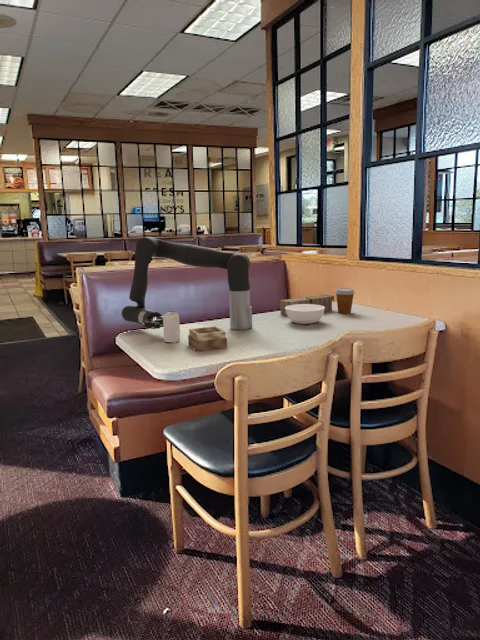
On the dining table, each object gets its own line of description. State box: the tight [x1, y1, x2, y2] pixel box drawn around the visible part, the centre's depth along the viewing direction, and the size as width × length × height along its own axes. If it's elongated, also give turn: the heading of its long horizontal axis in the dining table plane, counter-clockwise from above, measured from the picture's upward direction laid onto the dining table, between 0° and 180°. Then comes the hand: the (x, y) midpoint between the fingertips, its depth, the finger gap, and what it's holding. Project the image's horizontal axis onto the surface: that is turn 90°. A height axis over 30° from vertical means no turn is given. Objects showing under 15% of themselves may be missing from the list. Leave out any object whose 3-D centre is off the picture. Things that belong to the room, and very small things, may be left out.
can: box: [162, 310, 181, 343], centre depth 198 cm, size 6×6×12 cm
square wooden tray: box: [188, 325, 227, 341], centre depth 188 cm, size 11×11×2 cm
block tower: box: [279, 293, 335, 317], centre depth 251 cm, size 8×8×29 cm
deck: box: [187, 335, 228, 352], centre depth 189 cm, size 12×11×4 cm
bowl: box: [285, 304, 325, 325], centre depth 227 cm, size 18×18×7 cm
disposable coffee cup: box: [335, 287, 355, 315], centre depth 246 cm, size 10×10×12 cm
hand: (168, 324), depth 199 cm, fingers open, 8 cm apart
